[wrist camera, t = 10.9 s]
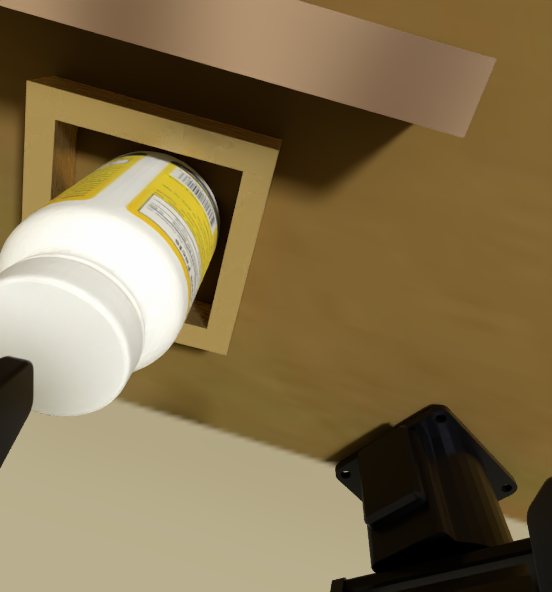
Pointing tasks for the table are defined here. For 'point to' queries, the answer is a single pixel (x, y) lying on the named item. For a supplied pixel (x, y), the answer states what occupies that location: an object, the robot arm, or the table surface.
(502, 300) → the table surface
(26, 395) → the robot arm
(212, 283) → the table surface
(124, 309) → the supplement bottle
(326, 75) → the brown wooden bar
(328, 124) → the table surface
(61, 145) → the frame
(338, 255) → the table surface
